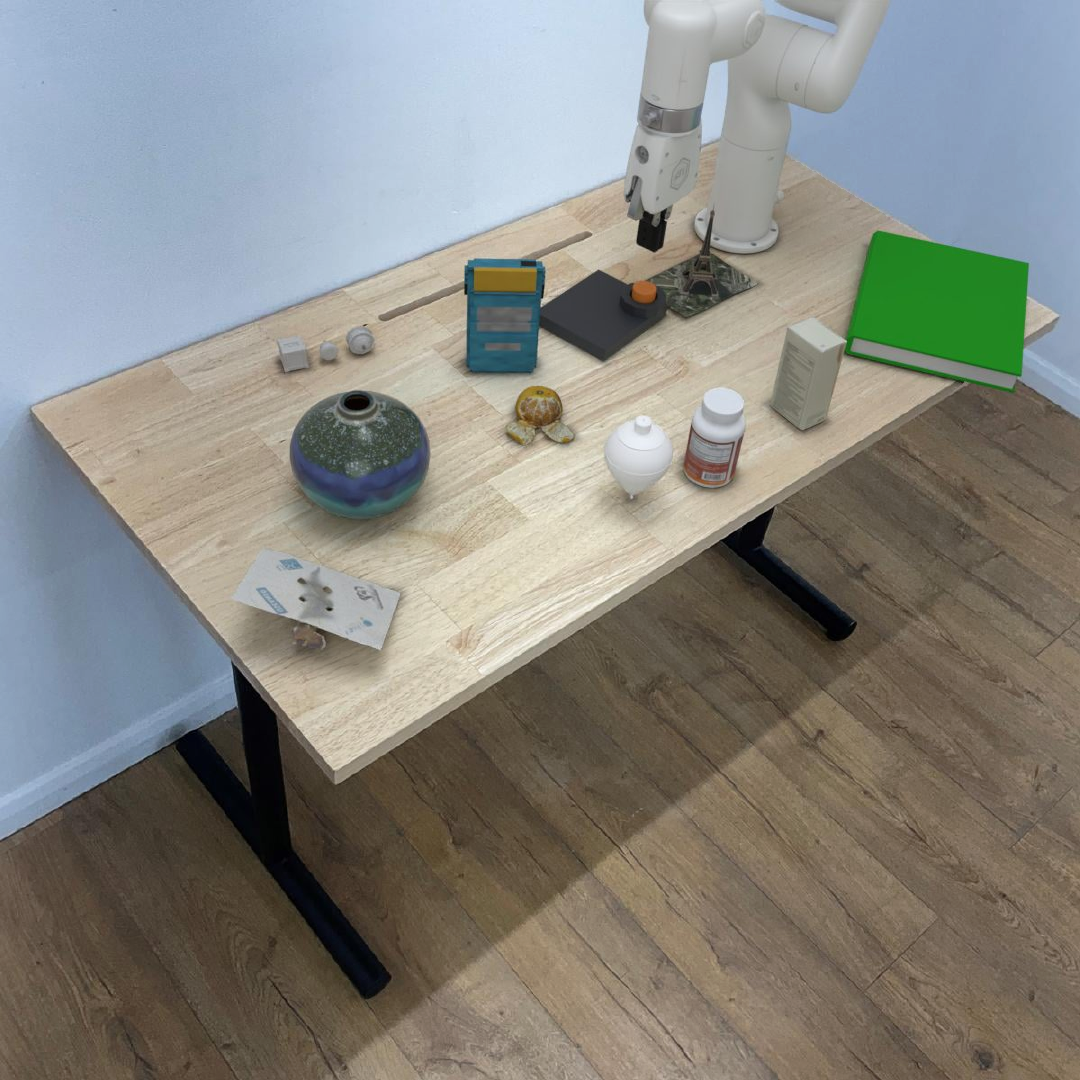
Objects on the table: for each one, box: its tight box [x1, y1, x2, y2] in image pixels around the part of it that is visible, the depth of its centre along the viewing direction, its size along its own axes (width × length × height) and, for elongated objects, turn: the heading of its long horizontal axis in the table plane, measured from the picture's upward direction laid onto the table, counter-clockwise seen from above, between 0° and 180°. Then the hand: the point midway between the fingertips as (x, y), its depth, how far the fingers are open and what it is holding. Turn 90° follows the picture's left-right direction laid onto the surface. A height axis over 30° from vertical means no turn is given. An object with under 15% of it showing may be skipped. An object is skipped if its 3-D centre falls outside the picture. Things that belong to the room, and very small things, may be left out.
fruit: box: [505, 385, 576, 446], centre depth 142 cm, size 8×8×4 cm
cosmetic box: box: [769, 316, 847, 431], centre depth 143 cm, size 6×4×12 cm
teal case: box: [463, 257, 547, 374], centre depth 145 cm, size 10×4×15 cm, turn 93°
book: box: [844, 230, 1030, 394], centre depth 163 cm, size 22×28×3 cm
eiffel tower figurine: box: [644, 206, 759, 318], centre depth 161 cm, size 15×10×13 cm
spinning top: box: [603, 414, 674, 500], centre depth 131 cm, size 8×8×12 cm
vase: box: [289, 389, 432, 520], centre depth 128 cm, size 15×15×13 cm
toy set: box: [276, 325, 375, 374], centre depth 149 cm, size 12×3×4 cm
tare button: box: [632, 280, 657, 303], centre depth 157 cm, size 3×3×2 cm
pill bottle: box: [682, 387, 747, 489], centre depth 135 cm, size 6×6×11 cm
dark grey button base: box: [539, 269, 669, 362], centre depth 158 cm, size 15×12×4 cm
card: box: [230, 546, 402, 652], centre depth 119 cm, size 11×15×5 cm
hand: (649, 246), depth 152 cm, fingers closed
